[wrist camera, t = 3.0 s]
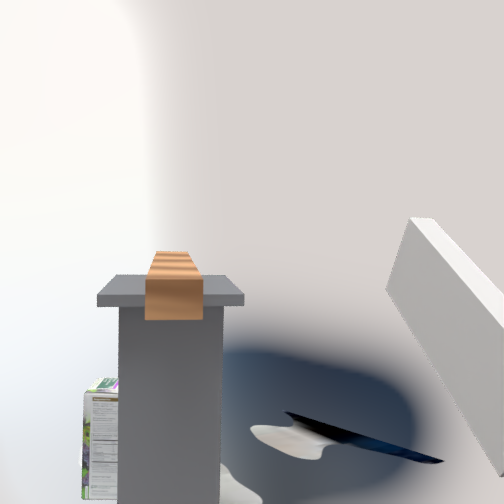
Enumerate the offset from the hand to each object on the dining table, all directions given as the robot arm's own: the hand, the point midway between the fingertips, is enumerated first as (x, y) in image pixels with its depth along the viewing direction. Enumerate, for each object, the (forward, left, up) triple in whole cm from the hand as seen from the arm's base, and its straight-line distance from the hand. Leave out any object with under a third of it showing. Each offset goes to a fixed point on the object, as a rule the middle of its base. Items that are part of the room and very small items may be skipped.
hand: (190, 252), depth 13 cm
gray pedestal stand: (-23, +22, -36) cm, 48 cm away
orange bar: (-20, +20, -5) cm, 28 cm away
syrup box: (-41, +29, -36) cm, 62 cm away
